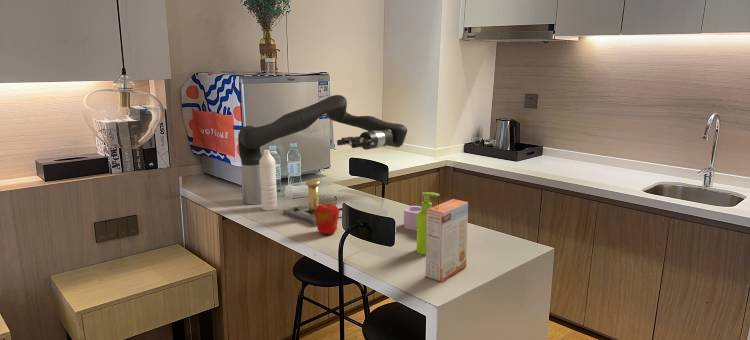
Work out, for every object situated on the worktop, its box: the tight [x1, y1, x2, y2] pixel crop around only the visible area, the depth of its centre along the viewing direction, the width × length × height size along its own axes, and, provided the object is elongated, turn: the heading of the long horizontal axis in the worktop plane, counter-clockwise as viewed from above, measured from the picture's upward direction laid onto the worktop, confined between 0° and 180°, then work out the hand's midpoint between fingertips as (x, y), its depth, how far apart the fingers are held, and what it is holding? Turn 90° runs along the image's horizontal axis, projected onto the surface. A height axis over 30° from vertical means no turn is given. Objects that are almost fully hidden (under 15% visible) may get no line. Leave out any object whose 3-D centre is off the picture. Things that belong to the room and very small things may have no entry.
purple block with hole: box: [403, 205, 421, 232], centre depth 186 cm, size 20×12×7 cm, turn 52°
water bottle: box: [259, 149, 278, 211], centre depth 209 cm, size 9×6×25 cm
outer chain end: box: [297, 207, 317, 226], centre depth 197 cm, size 13×9×4 cm
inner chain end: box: [282, 205, 314, 225], centre depth 202 cm, size 19×9×2 cm, turn 47°
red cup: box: [315, 202, 340, 236], centre depth 182 cm, size 9×8×12 cm
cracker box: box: [425, 198, 469, 283], centre depth 148 cm, size 14×6×21 cm, turn 139°
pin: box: [305, 179, 321, 214], centre depth 197 cm, size 6×6×15 cm
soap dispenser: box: [416, 191, 440, 256], centre depth 164 cm, size 6×7×20 cm
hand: (344, 144), depth 205 cm, fingers open, 8 cm apart
